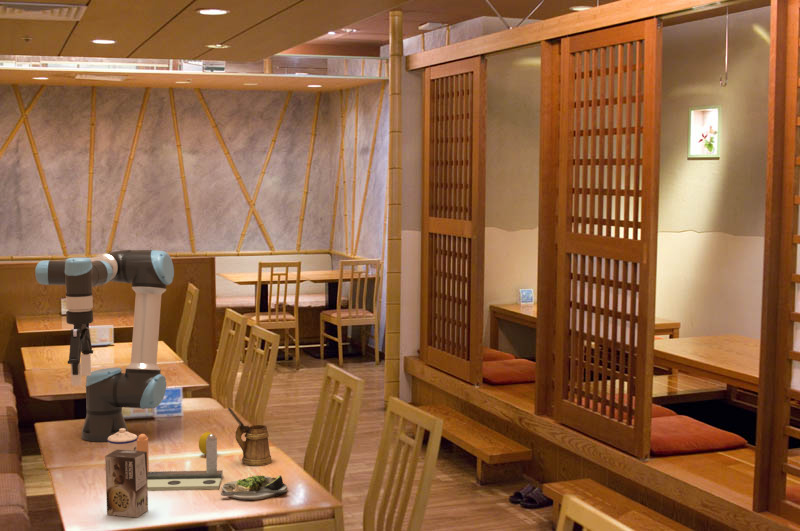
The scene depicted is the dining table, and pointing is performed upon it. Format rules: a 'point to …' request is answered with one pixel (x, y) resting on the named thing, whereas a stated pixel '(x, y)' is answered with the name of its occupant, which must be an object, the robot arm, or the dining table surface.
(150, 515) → the dining table surface
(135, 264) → the robot arm
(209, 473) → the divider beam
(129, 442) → the teacup with lid
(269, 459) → the wooden mug
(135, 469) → the coffee box
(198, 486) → the hole board
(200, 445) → the lemon
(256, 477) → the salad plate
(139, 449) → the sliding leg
